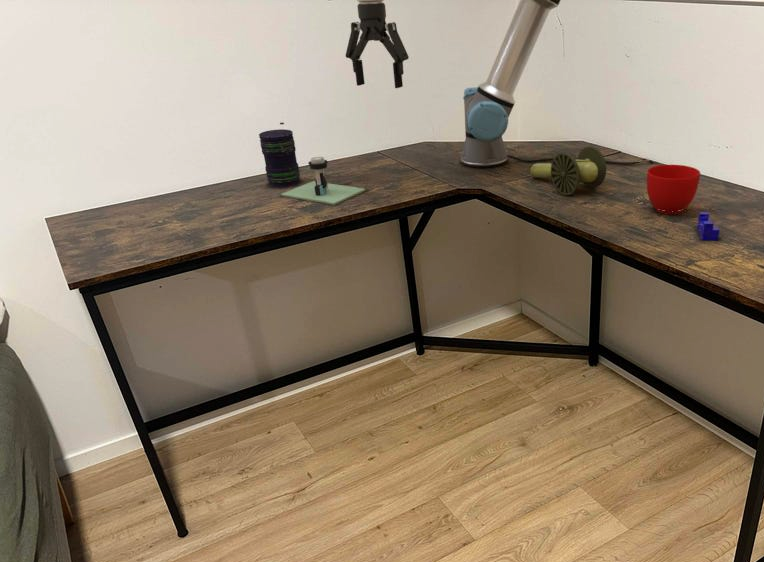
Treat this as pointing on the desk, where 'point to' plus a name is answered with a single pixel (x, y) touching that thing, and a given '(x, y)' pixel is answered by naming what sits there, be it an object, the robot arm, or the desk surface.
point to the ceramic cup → (672, 187)
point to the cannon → (573, 170)
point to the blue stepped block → (707, 227)
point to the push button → (319, 175)
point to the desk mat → (332, 197)
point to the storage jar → (280, 158)
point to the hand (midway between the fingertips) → (379, 86)
